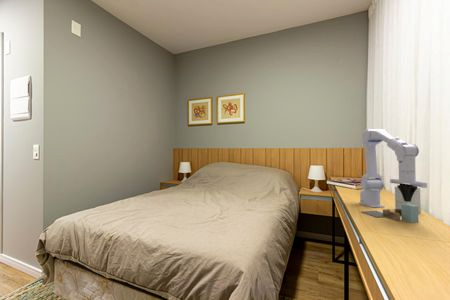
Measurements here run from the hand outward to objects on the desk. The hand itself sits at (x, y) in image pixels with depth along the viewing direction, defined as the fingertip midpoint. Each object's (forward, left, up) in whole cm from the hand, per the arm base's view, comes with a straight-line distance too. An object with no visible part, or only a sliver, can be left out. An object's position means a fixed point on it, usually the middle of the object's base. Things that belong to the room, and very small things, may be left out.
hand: (407, 201), depth 93 cm
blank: (+1, 0, -9) cm, 9 cm away
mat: (-10, -6, -9) cm, 15 cm away
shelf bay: (-4, 0, -9) cm, 9 cm away
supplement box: (-12, +15, -9) cm, 21 cm away
